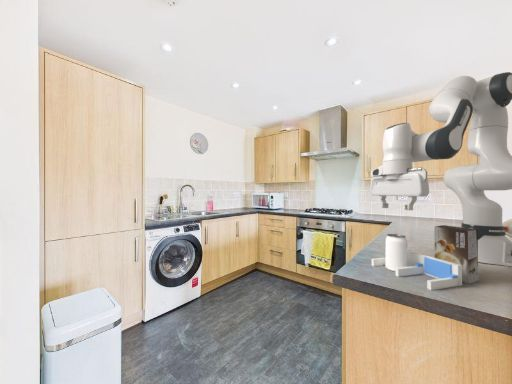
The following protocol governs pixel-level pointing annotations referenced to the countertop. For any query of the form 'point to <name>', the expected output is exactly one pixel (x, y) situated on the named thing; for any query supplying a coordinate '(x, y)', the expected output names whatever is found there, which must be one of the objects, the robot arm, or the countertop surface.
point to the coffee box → (458, 249)
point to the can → (395, 252)
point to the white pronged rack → (429, 270)
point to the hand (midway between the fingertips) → (396, 209)
